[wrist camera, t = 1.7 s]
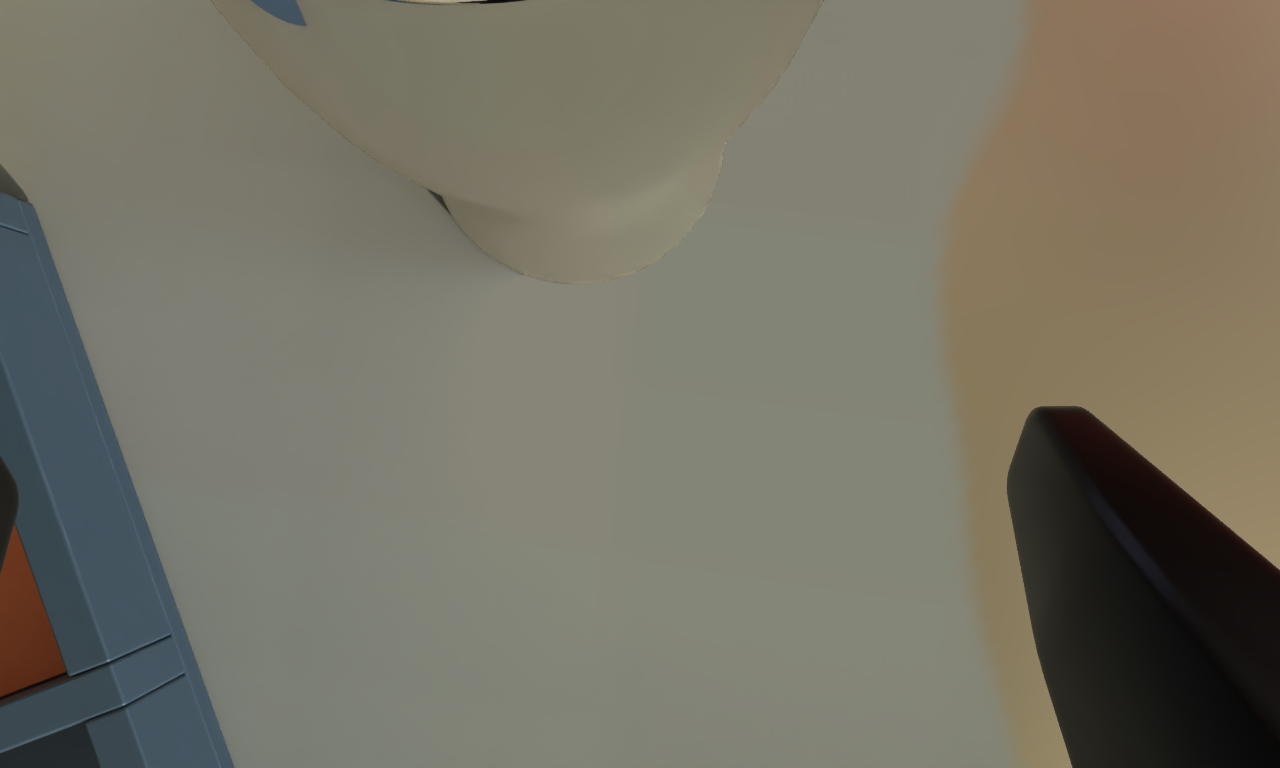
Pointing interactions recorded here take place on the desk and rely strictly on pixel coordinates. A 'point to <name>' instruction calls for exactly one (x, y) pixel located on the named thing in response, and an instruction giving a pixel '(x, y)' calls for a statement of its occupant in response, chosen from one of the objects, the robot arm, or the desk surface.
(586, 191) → the beer glass
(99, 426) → the divided tray
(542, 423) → the desk surface
